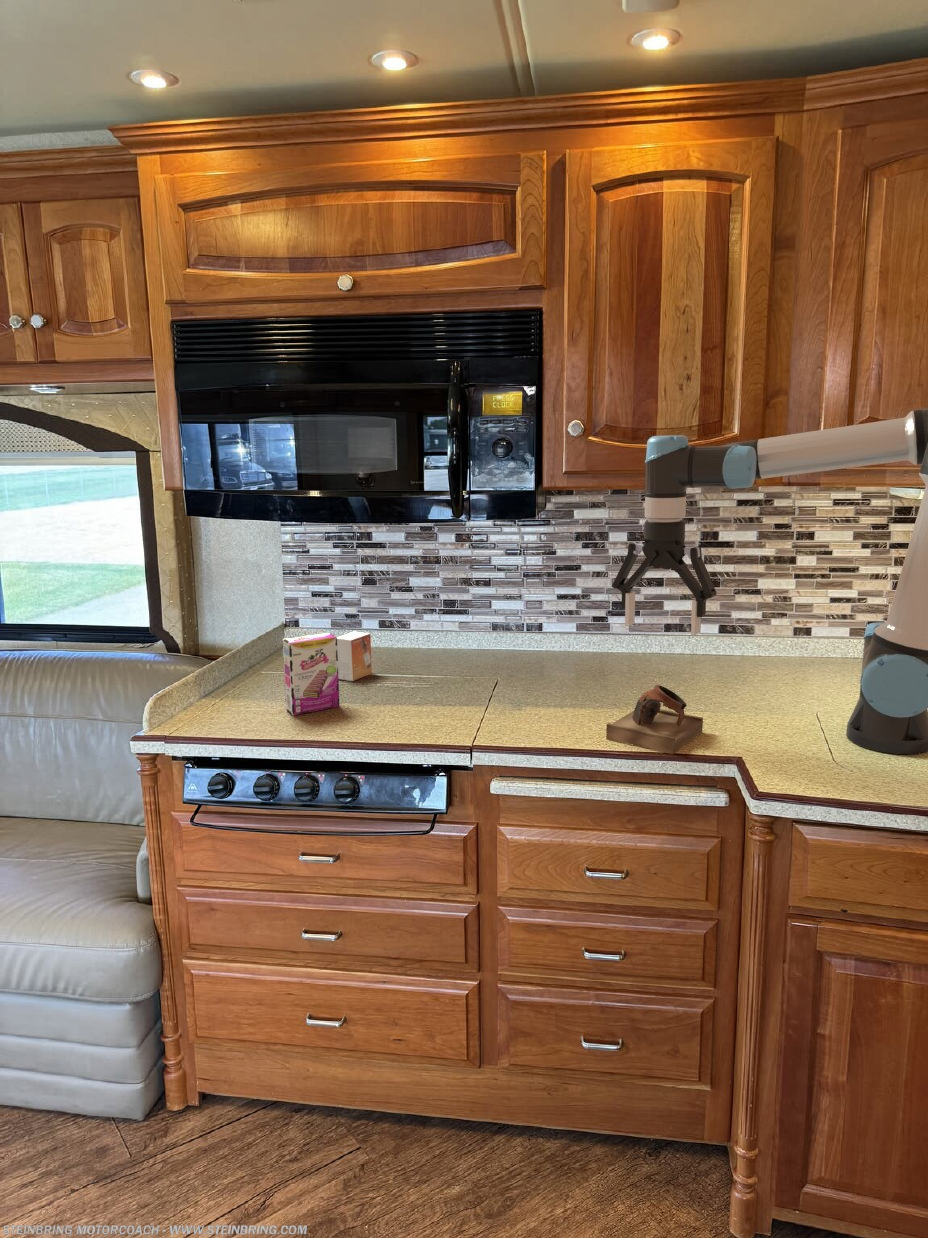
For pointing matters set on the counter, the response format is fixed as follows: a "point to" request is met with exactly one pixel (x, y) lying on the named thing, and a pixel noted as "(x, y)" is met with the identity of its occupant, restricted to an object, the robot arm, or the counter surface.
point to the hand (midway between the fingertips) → (661, 629)
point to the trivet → (656, 731)
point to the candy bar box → (311, 673)
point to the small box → (354, 655)
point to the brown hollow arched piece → (657, 705)
